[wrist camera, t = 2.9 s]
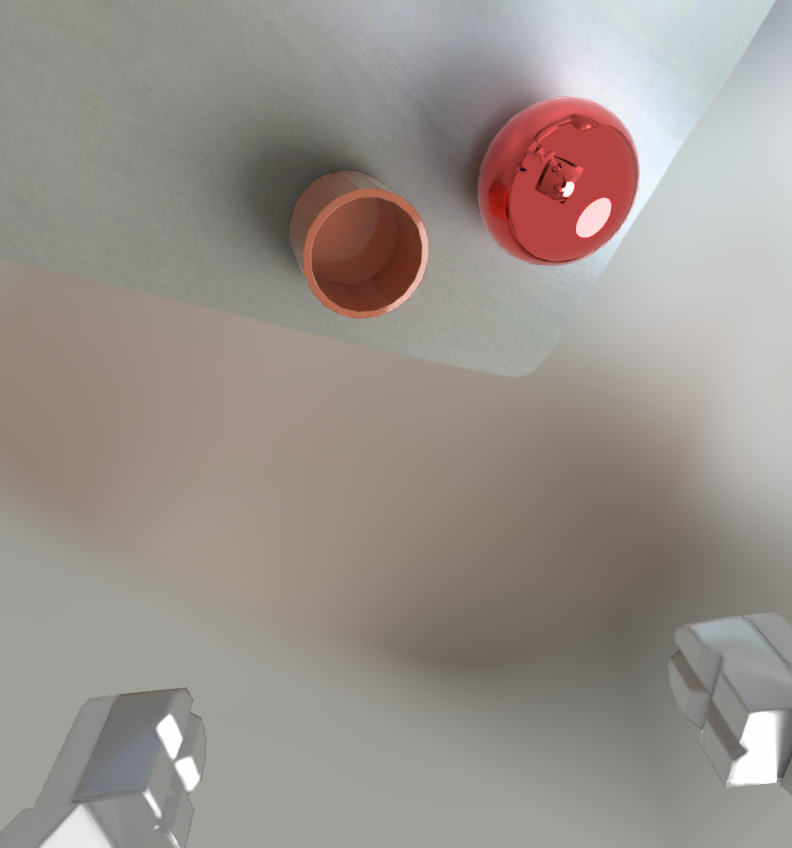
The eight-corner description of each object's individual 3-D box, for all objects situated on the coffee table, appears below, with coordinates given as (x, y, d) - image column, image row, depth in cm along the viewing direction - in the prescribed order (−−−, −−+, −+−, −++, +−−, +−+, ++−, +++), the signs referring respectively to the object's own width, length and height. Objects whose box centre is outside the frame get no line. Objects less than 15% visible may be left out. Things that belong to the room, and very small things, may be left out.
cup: (276, 273, 46) (288, 303, 41) (306, 152, 41) (324, 169, 36) (380, 299, 50) (403, 328, 45) (417, 191, 46) (447, 211, 41)
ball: (536, 258, 53) (612, 306, 43) (431, 214, 47) (493, 260, 38) (605, 127, 47) (708, 150, 38) (496, 61, 42) (587, 70, 33)
